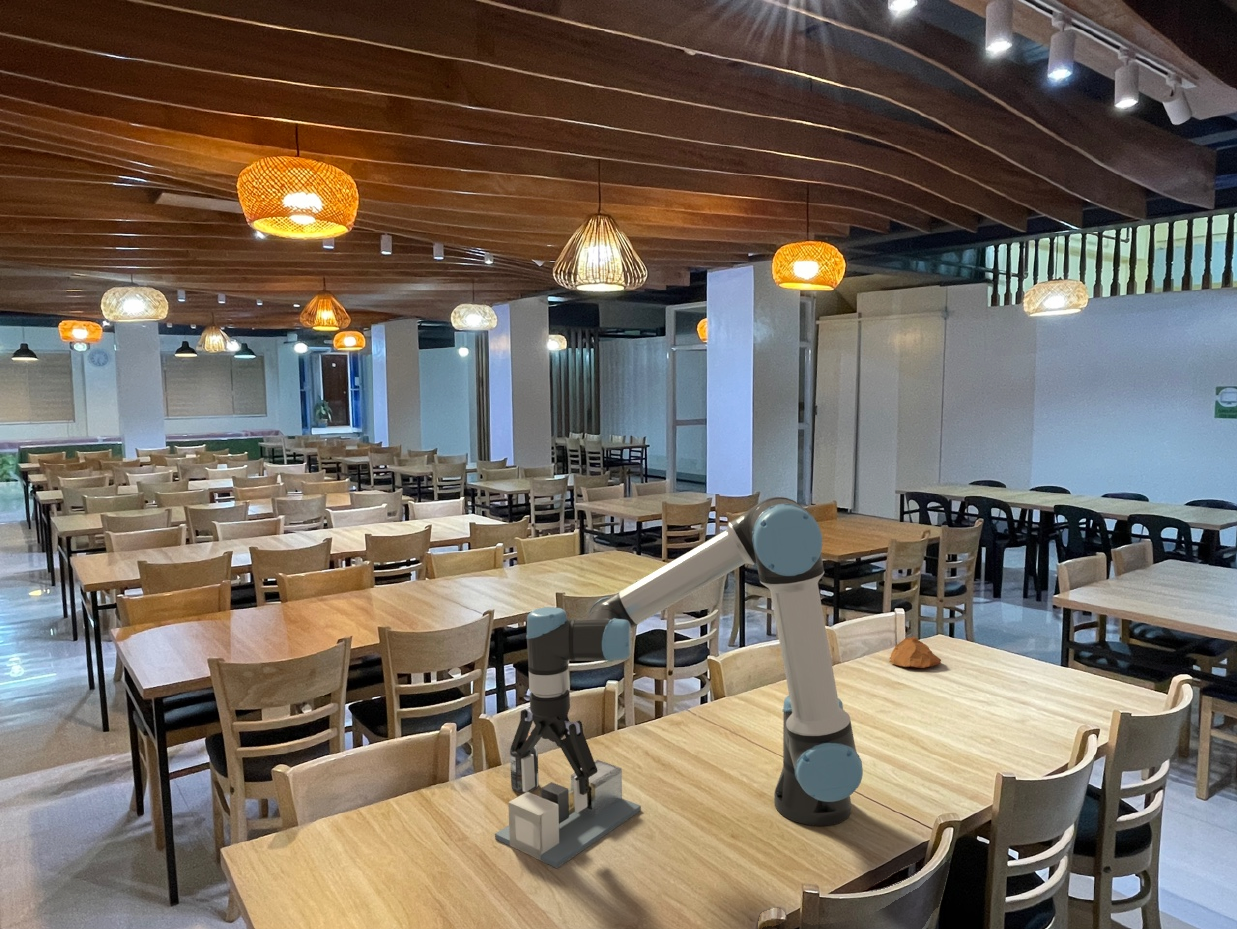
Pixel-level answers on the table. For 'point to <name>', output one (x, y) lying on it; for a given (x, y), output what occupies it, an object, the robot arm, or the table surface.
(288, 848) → the table surface
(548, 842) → the socket
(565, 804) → the brass rod with grip
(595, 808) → the sleeve
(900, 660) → the stone
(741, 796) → the table surface
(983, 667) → the table surface
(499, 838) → the board
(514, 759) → the pill bottle
